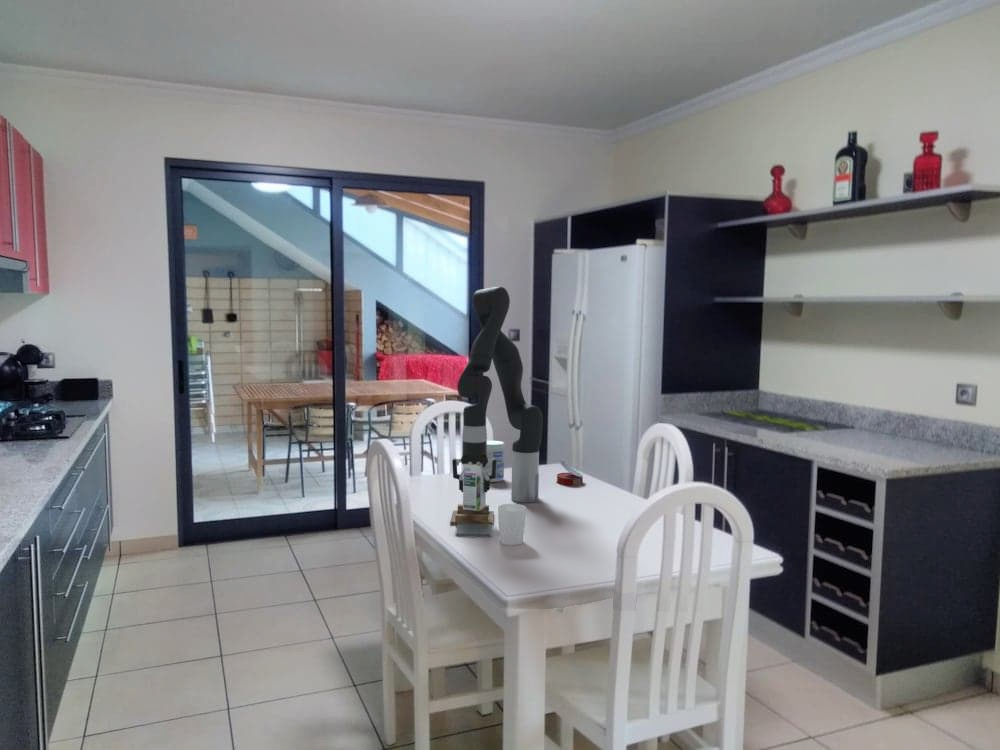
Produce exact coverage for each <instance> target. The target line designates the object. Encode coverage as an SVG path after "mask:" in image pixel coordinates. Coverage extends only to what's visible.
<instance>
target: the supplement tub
mask: <svg viewBox="0 0 1000 750" xmlns="http://www.w3.org/2000/svg"><path fill="white" fill-rule="evenodd" d="M487 458H488V459H494V458H496V476H495V478H494V479H491V480H490V483H498V482H502V481H503V480H504V476H505V472H504V471H505V441H500V440H487ZM486 471H487V473H488V474H489V475H490V474H492V466H490V463H489V462H488V463H487V464H486Z"/></svg>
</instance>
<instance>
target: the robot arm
mask: <svg viewBox="0 0 1000 750" xmlns="http://www.w3.org/2000/svg"><path fill="white" fill-rule="evenodd" d="M510 302H511V300H510V295H509V293H508V291H507V289H506V288H505V287H504V286H493V287H488V288H483V289H482V288H481V289H477V290H476V291H475V292H474V294H473V296H472V303H473V304H472V305H473V308H474V312H475V314H476V317H477V320H478V322H479V325H480V326H481V331H480V332H479V333H478V335H477V336H476V337H475V339H474V341H473V344H472V346H471V349H470V352H469V353H470V354H469V358H468V362H467V364H466V365H465V367H464V370H463V371H462V372H461V375H460V376H459V379H458V381H457V386H456V388H457V391H458V395H459V396H460V397H462V398H465V399H466V398H467V399H469V398H470V399H471V398H472V399H478V401H477V403H476V404H470V405H467V406H465V407H464V408H463V413H462V415H463V421H462V422H463V423H462V424H463V426H462V434H461V435H462V436H461V438H462V439H461V440H462V442H461V443H462V445H461V446H462V447H461V448H462V456H461V458H455V457H453V458H452V460H451V461H452V463H451V465H452V477H453V479H455V480H458V490H459V491H461V493H463V473H464V471H463V470H462V471H461V473H460V474H459V473H458V466H460V463H461V464H462V465H463V464H467V465H469V464H482V465H483V466H482V474H483V475H484V477H485V492H486V493H488V491H490V488H491V487H490V486H491V485H490V483H491V482H490V480H491V479H494V478H495V476H496V458H494V459H488V458H487V441H488V436H487V435H488V433H487V432H488V431H487V410H488V409H487V408H488V403H489V400H490V397H491V393H492V391H493V383H492V380H491V378H490V377H489V376H488V375H481V374H484V373H488V371H490V369H491V364H492V362H493V366H494V368H495V371H496V375H497V378H498V380H499V384H500V388H501V390H502V391H501V392H502V395H503V398H504V403H505V408H506V414H507V418H508V422H509V424H510V425H511V426H512V427H513V428H514V429H516V430H519V438H518V440H514V441H513V442H512V444H511V445H512V447H511V449H512V450H511V451H512V452H511V455H512V456H511V457H512V459H511V493H510V495H511V500H512V501H513V502H516V503H524V504H525V503H534V502H539V487H540V486H539V485H540V484H539V481H540V479H539V478H540V477H539V476H540V475H539V474H540V473H539V471H540V470H539V468H540V466H539V465H540V446H541V443H542V439H543V426H544V418H543V417H544V416H543V412H542V410H541V409H540V407H539V406H536V405H533V404H532V405H531V404H528V403H527V402H526V400H525V397H524V394H523V391H522V379H523V374H524V366H523V362H522V357H521V355H520V351H519V349H518V347H517V346H516V344H515V343H514V342H513V341H512V340H511V339H510V338H509V337H508V336H507V335H506V334H505V333H504V332H503V331H502V327H503V325H504V322H505V319H506V317H507V315H508V312H509V308H510ZM479 374H480V375H479ZM488 462H489V463H490V466H492V474H490V475H489V474H488V473H487V471H486V469H485V470H484V467H485V465H486V464H487V463H488Z"/></svg>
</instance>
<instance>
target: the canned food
mask: <svg viewBox="0 0 1000 750" xmlns="http://www.w3.org/2000/svg"><path fill="white" fill-rule="evenodd" d="M559 463H560V465H561V466H562V468H563V469H564V470H565V471H567V472H560V473H557V474H556V484H558V485H561V486H565V487H576V486H577V485H578V486H582V485H583V478H584V477H583V475H582V474H581V473H580V472H578V471H577V470H575V469H573V468H572V467H570V466H569V465H568V464H566V463H565V461H564V460H560V461H559ZM581 484H582V485H581Z"/></svg>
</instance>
